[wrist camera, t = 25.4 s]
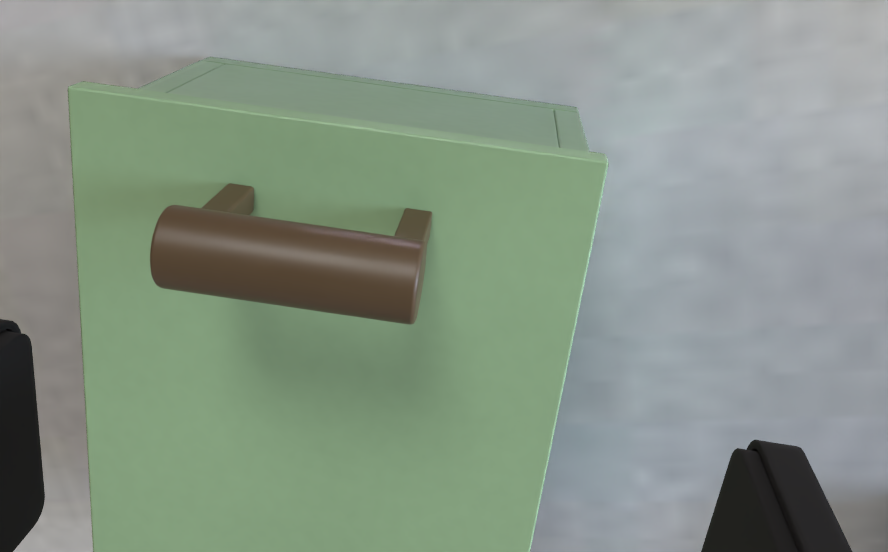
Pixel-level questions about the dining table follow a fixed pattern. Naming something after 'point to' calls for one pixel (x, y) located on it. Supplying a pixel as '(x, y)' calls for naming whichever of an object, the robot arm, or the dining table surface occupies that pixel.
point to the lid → (319, 325)
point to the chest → (378, 101)
